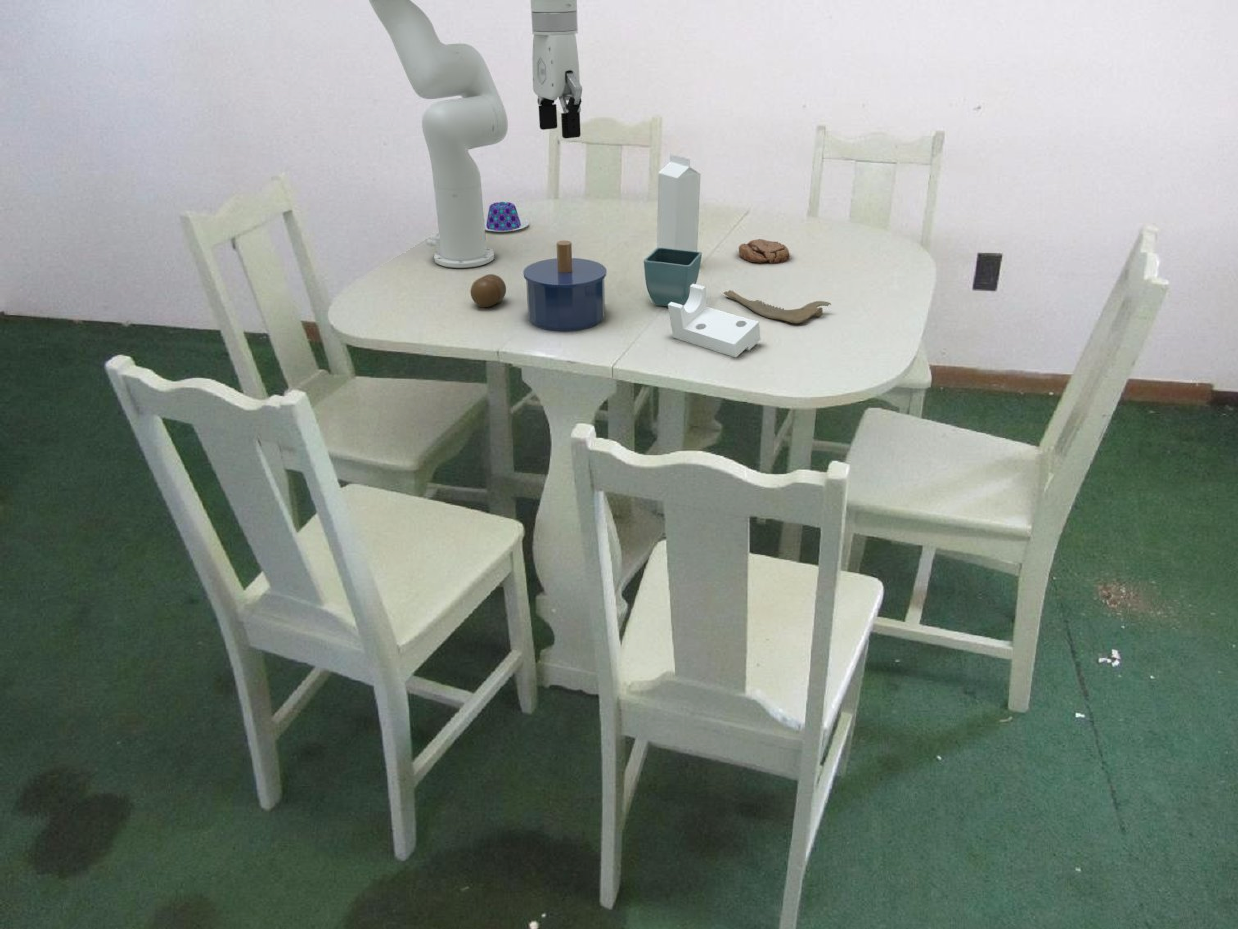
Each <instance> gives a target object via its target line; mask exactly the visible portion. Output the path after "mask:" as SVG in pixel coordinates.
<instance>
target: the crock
mask: <svg viewBox="0 0 1238 929" xmlns="http://www.w3.org/2000/svg"><path fill="white" fill-rule="evenodd" d="M525 287H526V303H527V317H528V320H529V323H531V324H532V325H533V326H535V327H537V328H539V329H542V330H547V331H554V332H576V331H582V330H588V329H591V328H594V327H596V326H599V325H600V324H601V323H602V322H603V321H604V319H605V314H606V300H605V299H606V298H605V297H606V291H605V290H606V288H605V278H604V279H603V280H601V281H599V282H597V283H594V284H591V285H587V286H582V287H574V288H551V287H544V286H539V285H535V284H533V283H530V282H528V281H527V280H526V279H525Z"/></svg>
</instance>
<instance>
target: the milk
mask: <svg viewBox="0 0 1238 929" xmlns="http://www.w3.org/2000/svg"><path fill="white" fill-rule="evenodd" d="M657 182H658V183H657V219H656V220H657V225H656V228H657V229H656V232H657V233H656V248H669V249H678V250H687V251H696V252H698V246H699V245H698V242H699V220H700V198H701V196H700V194H701V173H700V172H698V171H697V170H696V169H694V168H692V167H691V160H690V158H688V157H684V156H680V155H677V154H672V153H670V154H669V162H668V163H666V165H665V166H663V168H662V169H660V170H659V171H658V174H657Z"/></svg>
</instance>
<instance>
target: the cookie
mask: <svg viewBox="0 0 1238 929" xmlns="http://www.w3.org/2000/svg"><path fill="white" fill-rule="evenodd" d="M738 255H739V257H740V258H742V259H744V260H745V261H748V262H750V263H758V264H759V263H760V264H762V263H769V264H779V263H782V262H786V261H788V260H789V258H790V251H789V248H788V247H787V245H785V244H783V243H781V242H778V241H774V240H773V241H772V240H766V239H762V238H759V239H757V238H756V239H752V240H749V242H747V243H741V244H740V245H739V246H738Z"/></svg>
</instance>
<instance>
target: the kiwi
mask: <svg viewBox="0 0 1238 929" xmlns="http://www.w3.org/2000/svg"><path fill="white" fill-rule="evenodd" d="M506 293H507V285H506V283H505V281H504V279H502V277H501V276H500V275H497V274H492V273H489V274H485V275H483V276H481V277H479V278H478V279H475V281H473V283H472V285H471V287H470V297H471V299H472V301H473V303H474V304H476V305H477V306H479V307H481V308H490V307H493V306H494V305H496V304H498V303H500V302H501V301H503V299H504V297H505V296H506Z"/></svg>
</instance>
